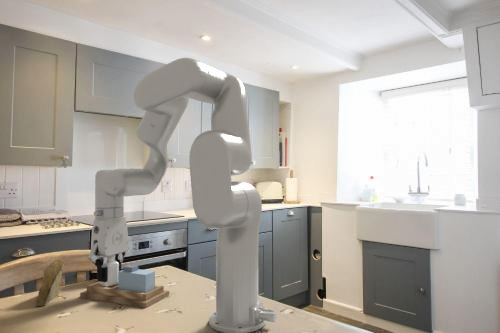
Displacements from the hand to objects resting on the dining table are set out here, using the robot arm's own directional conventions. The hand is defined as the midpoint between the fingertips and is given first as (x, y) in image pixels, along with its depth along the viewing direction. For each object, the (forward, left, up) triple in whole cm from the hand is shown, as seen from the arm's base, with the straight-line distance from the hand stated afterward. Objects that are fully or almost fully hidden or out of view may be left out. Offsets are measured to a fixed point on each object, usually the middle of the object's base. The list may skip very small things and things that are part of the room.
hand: (109, 278), depth 101 cm
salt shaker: (0, 0, -2) cm, 2 cm away
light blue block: (-9, 0, -3) cm, 10 cm away
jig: (-5, 0, -4) cm, 7 cm away
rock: (+13, +10, -5) cm, 17 cm away
